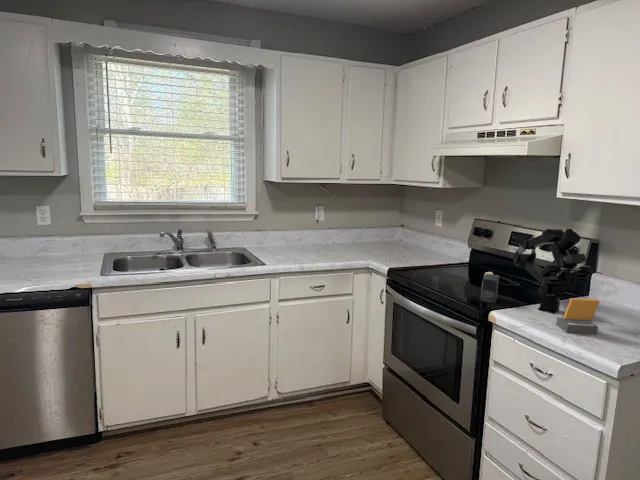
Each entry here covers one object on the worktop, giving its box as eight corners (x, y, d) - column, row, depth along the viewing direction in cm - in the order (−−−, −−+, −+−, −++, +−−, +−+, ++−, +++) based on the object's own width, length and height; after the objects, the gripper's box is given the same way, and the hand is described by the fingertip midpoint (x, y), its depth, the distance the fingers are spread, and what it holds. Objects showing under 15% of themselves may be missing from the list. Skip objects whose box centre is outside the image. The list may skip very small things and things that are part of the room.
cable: (512, 279, 245) (513, 273, 245) (521, 287, 229) (522, 281, 229) (482, 276, 247) (483, 270, 247) (489, 285, 231) (489, 278, 231)
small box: (482, 295, 211) (484, 273, 209) (497, 297, 208) (500, 275, 206) (479, 301, 201) (482, 278, 199) (495, 303, 199) (498, 280, 197)
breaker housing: (556, 324, 176) (557, 316, 175) (584, 326, 176) (586, 318, 175) (566, 332, 168) (567, 324, 167) (596, 334, 168) (598, 326, 167)
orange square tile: (562, 318, 172) (570, 297, 167) (590, 320, 172) (598, 299, 167) (563, 320, 171) (571, 299, 166) (591, 322, 171) (600, 301, 166)
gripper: (550, 244, 178) (563, 280, 170) (594, 246, 180) (609, 282, 172) (535, 258, 187) (546, 293, 179) (577, 260, 190) (590, 295, 181)
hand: (573, 290), depth 178 cm, fingers closed
